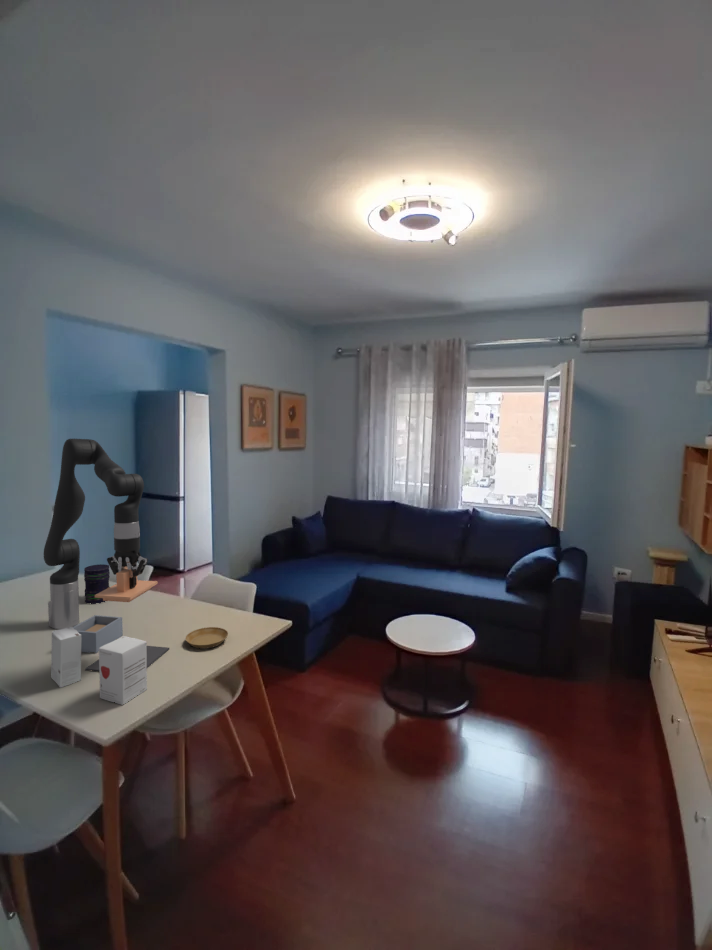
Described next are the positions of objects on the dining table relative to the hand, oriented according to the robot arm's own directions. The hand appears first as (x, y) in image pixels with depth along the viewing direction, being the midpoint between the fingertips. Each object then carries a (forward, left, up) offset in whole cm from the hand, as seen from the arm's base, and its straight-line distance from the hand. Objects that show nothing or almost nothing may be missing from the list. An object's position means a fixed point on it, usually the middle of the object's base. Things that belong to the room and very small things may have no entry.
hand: (128, 587), depth 150 cm
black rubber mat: (0, 0, -24) cm, 24 cm away
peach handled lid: (0, 0, -2) cm, 2 cm away
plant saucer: (+19, +17, -25) cm, 36 cm away
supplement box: (+11, -19, -25) cm, 33 cm away
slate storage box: (-19, +9, -24) cm, 32 cm away
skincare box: (-10, -15, -25) cm, 31 cm away
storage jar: (-47, +47, -25) cm, 71 cm away
